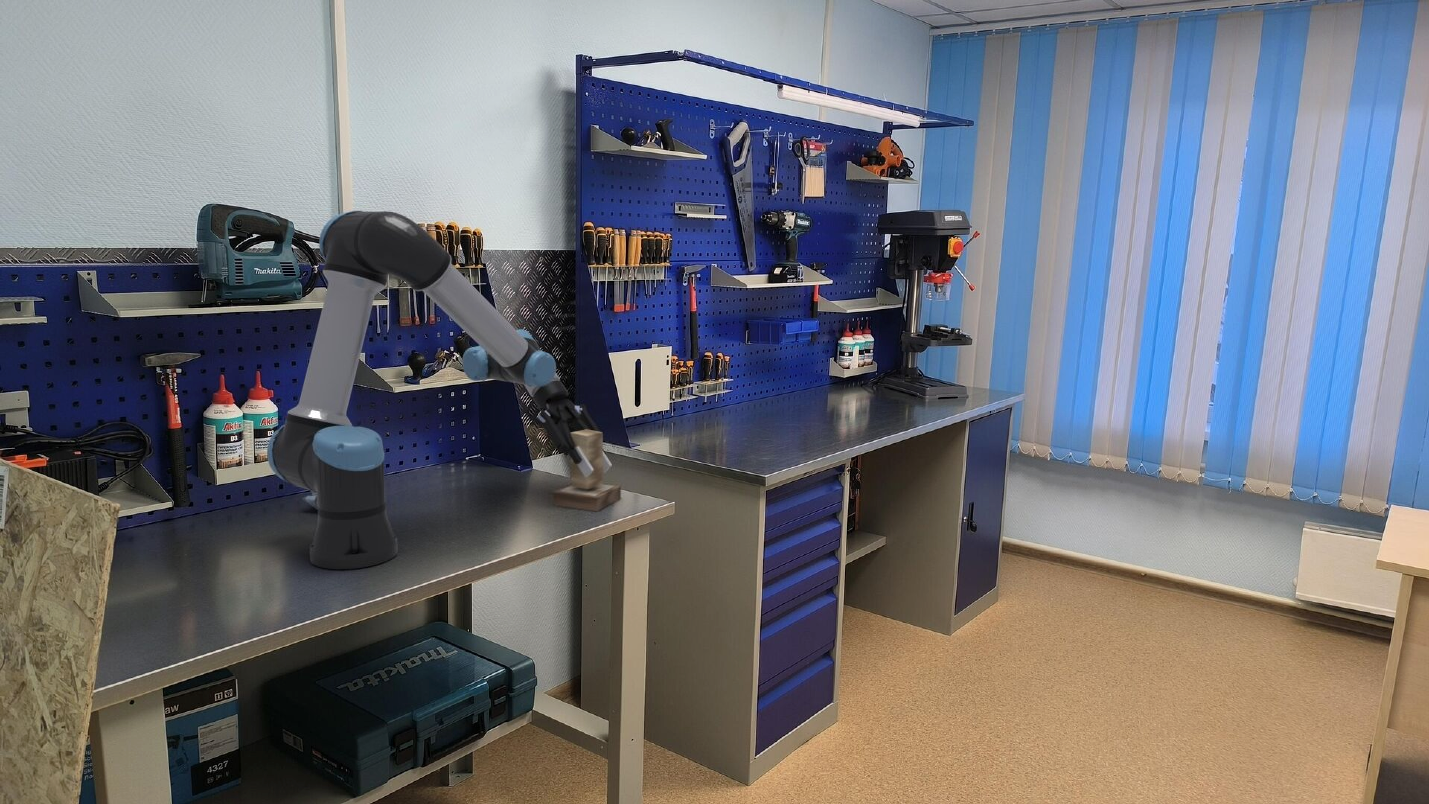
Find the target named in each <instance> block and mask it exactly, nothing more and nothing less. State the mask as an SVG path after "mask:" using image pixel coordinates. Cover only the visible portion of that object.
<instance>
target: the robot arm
mask: <svg viewBox="0 0 1429 804" xmlns="http://www.w3.org/2000/svg"><path fill="white" fill-rule="evenodd" d="M319 235H320V236H319V240H318V241H319V243H318V245H319V251H320V254H321V255H322V258H323V260H324V265H323V269H322V274H323V276H324V277H325V279H326V280H327V284H328V285H327V289H326V292H325V296H324V300H323V304H322V305H323V306H322V308H321V313H320V315H319V316H320V317H319V321H318V324H317V329H316V334H315V338H314V341H313V344H312V345H313V346H312V349H311V353H310V357H309V362H308V366H307V369H306V373H305V378H304V382H303V385H302V390H301V395H300V398H299V401H298V404H297V405H296V406H295V407H293V408H290V410H288V411H287V414H286V418H285V421H284V424H283V425H281V426H280V428H278V429H277V430H275V431H274V432H273V433H272V435H271V437H270V438H269V441H268V443H267V444H268V445H267V448H266V456H267V461H268V465H269V467H270V469H271V470H272V472H273V473H274V474H275V475H276V476H277V477H279V479H281V480H282V481H284V482H286V483H287V484H289V485H292V486H293V487H298V488H302V489H306V490H308V491H310V492H311V491H314V492H317V507H318V511H317V521H316V525H315V528H314V532H313V537H312V542H311V544H310V546H309V561H310V563H311V564H312V565H313V566H316V567H318V568H322V569H329V570H353V569H361V568H368V567H372V566H376V565H379V564H382V563H385V562H388V561H390V560H391V559H393V558H394V557H396V556H397V554H398V548H399V547H398V538H397V537H396V535H395V534H394V532H393V528H392V524H391V522H390V519H389V517H388V515H387V507H386V506H387V505H386V504H387V503H386V485H385V484H386V483H385V482H386V481H385V480H386V479H385V457H386V456H385V450H384V445H383V439H382V437H381V435H380V434H379V433H378V432H377V431H375V430H373V429H370V428H367V427H364V426H353V424H352V423H351V421H350V419H349V418H348V416H347V410H348V407H349V402H350V398H351V394H352V390H353V387H354V386H353V385H354V383H355V382H354V381H355V378H356V375H357V374H356V373H357V370H358V366H359V362H360V358H361V354H362V349H363V346H364V341H365V337H366V333H367V329H368V324H369V321H370V317H371V313H372V308H373V304H374V299H375V296H376V295H377V294H378V293H379V292H382V291H383V290H385V289H386V286H387V282H388V279H389V278H388V277H389V275H390V276H393V277H396V278H398V279H399V280H402V281H403V282H404V283H406V284H407V285H408V286H409V287H410V288H411V290H414V292H423V293H424V294H425V295H427V297H428V298H429V299H431V301H433V302H434V303H435V304H436V306H438V307H439V308H440V309H441V310H442V311H443V312H444V313H445V314H447V316H449V318H451V319H452V320H453V322H455V323H456V325H458V326H459V328H461V329H462V330H463V331H464V332H465V333H466V334H467V335H468V336H470V338H472V339H473V341H474V342H475V343H477V344H478V346H477V345H476V346H473V347H469V348H467V349H466V350H465V352H464V353H463V356H462V360H461V361H462V368H463V372H464V374H465V376H466V377H467V378H468V379H469V380H471V381H474V382H477V381H483V382H485V381H486V380H495V381H502V382H505V383H506V382H509V383H514V384H519V385H524V387H525V389H526V390H527V391H528V393H529V395H530V396H531V397H532V400H533V402H534V403H535V405H536V406H537V408H538V410H539V411H541V412H540V413H539V414H538V416H537V417H535V419H536V421H537V422H538V423H539V425H541V427H543V429H544V431H545V432H546V434H547V435H548V436H547V437H549V439H550V440H551V442H552V444H553V446H554V447H555V449H556V450H557V451H558V452H559V454H560V453H563V455H564V456H566V457H567V456H568V455H569V458H570V460H571V459H572V460H573V462H574V463H575V464H577V465H578V467H579V468H580V470H581V472H582V473H583V475H584V476H585V478H586V477H588V476H589V475H590V474H591V473H592V472H593V471H594V469H593V467H592V466H591V464H590V463H589V461H588V460H587V458H586V457H585V455H584V453H583V452H582V450H581V449H580V447H579V446H578V447H576V448H575V444H574V441H573V439H572V436H571V434H570V433H571V431H570V428H572V429H573V430H574V432H576V431H581V430H585V429H588V430H593V431H598V432H601V431H600V429H599V428H598V426H597V425H596V423H595V422H594V421H595V420H593V419H592V417H591V415H590V414H589V412H588V410H587V406H586V405H585V404H584V403H581V404H580V405H575V403H573V402H572V401H571V400H570V396H569V392H568V390H567V389H566V387H565V385H564V384H563V382H562V381H561V379H560V377H559V376H558V374H557V373H556V371H557V363H556V361H555V358H554V357H553V355H551V354H550V353H548V352H546V351H543V350H541V348H540V347H539V344H538V342H537V341H536V340H535V339H534V338H533V336H532V335H531V333H530V332H529V331H527V330H525V329H515V327H514V326H513V325H512V324H511V323H510V322H509V321H508V320H507V319H506V318H505V316H503V315H502V314H501V313H500V312H499V311H498V310H497V308H495V307H494V306H493V305H492V303H490V302H489V300H487V298H485V297H484V296H483V295H482V294H481V293H480V292H479V291H478V289H476V287H474V285H473V284H472V283H471V282H469V280H468V279H467V278H466V277H465V276H464V275H463V274H462V273H461V272H460V271H459V269H457V268H456V267H455V265H453V264H452V260H453V259H452V255H451V254H450V253H449V252H448V251H447V250H446V249H445V248H444V247H443V246H442V245H441V244H440V243H439V241H437V240H436V239H435V238H434V237H433V236H432V235H431V234H430V233H428V232H427V231H426V230H425V229H423V227H421V226H420V225H419V224H418V223H417V222H414V221H413V220H412V219H410V218H409V217H406V216H405V215H403V214H401V213H398V212H393V211H387V210H386V211H385V210H383V211H362V210H352V211H351V210H350V211H348V212H343V213H339V214H337V215H335V216H332V218H331V219H329V220H328V221H327V222H326V223H325V225H324V226H323V227H322V229H321V232H320V234H319ZM569 427H570V428H569ZM612 466H613V465H612V462H611V461H610V459H609V458H608V456H607V453H606V450H604V448H603V474H605V473H607V472H608V470H610V469H611V467H612Z"/></svg>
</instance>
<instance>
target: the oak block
mask: <svg viewBox="0 0 1429 804" xmlns="http://www.w3.org/2000/svg"><path fill="white" fill-rule="evenodd" d="M570 434H571V436H572V439H573V441H574V444H575V448H576V447H578V446H579V447H580V449H581V450H582V452H583V453H584V455H585V457H586V458H587V460H588V461H589V463H590V464H591V466H592V467H593V469H594V471H593V472H592V473H591V474H590V475H589V476H588V477H586V478H585V476H584V475H583V473H582V472H581V470H580V468H579V467H578V465H577V464H575V463H574V462H573V460H572V459H571V458H570V484H571V486H575V487H579V488H583V489H590V488H593V487H597V486H601V485H603V484H604V477H603V475H604V472H603V449H604V448H603V447H604V446H603V445H604V444H603V443H604V442H603V440H604V435H603V432H602V431H600V432H598V431H593V430H588V429H585V430H581V431H572V432H571V431H570Z"/></svg>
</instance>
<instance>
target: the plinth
mask: <svg viewBox="0 0 1429 804" xmlns="http://www.w3.org/2000/svg"><path fill="white" fill-rule="evenodd" d="M621 487H622V486H621V485H618V484H617V485H615V484H607V483H603V485H601V486H597V487H593V488H590V489H583V488H579V487H575V486H571V483H570V484H567V485H565V486H563V487H561V488H559V489H557V490H555V491H552V506H555V507H561V508H562V507H563V508H569V509H577V510H583V511H590V512H599V511H601V510H603V509H605V508H606V507H608V506H610V505H611V504H613V503H616V502H617V501H619V500H621V499H622V497H621V492H622V490H621V489H622V488H621Z"/></svg>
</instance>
